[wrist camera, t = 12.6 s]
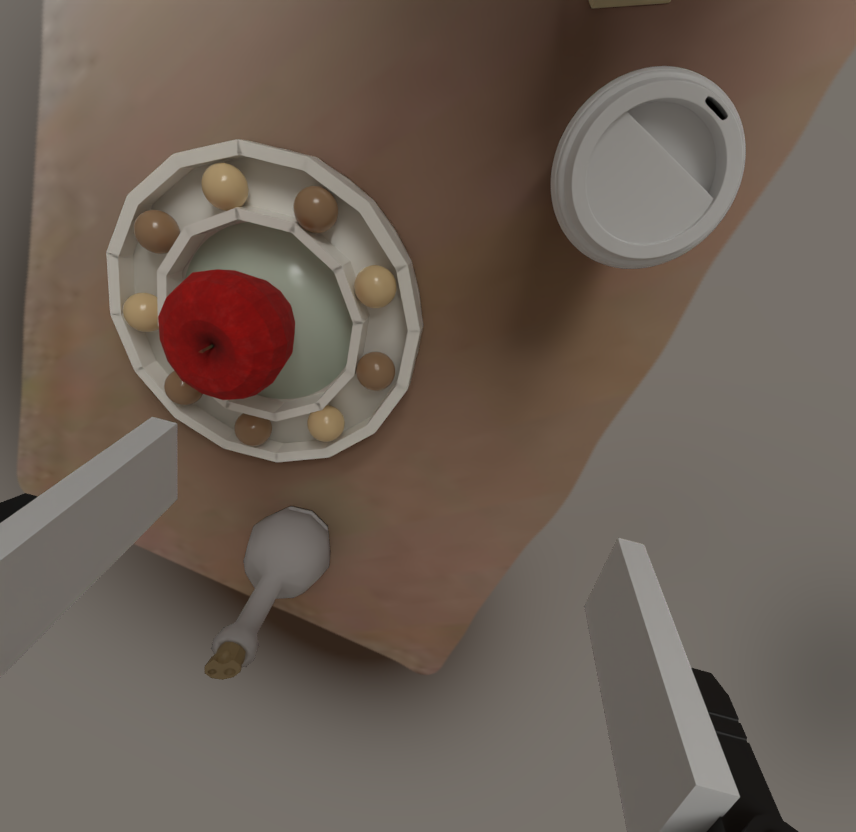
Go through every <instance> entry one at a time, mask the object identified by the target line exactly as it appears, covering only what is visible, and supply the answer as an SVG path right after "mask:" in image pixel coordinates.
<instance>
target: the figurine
mask: <svg viewBox="0 0 856 832" xmlns="http://www.w3.org/2000/svg"><path fill="white" fill-rule="evenodd" d="M588 1H589V4H590V6H591V8H607V7H621V6H635V5H649V4H663V3H670V1H671V0H588Z"/></svg>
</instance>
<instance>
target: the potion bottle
mask: <svg viewBox="0 0 856 832" xmlns="http://www.w3.org/2000/svg"><path fill="white" fill-rule="evenodd" d="M329 562H330V543H329V532H328V525H327V524H325V523H324V522H323V521H322V520H321V519H320V518H319V517H318V516H317V515H316V514H315V513H314V512H313V511H312V510H307V509H303V508H299V507H295V506H290V507H287V508H285V509H283V510H281V511H278V512H276V513H274V514H272V515H270V516H267V517H265V518H264V519H263V520H261V521H260V522H258V523H257V524H256V525H254V526H253V529H252V533H251V536H250V539H249V543H248V546H247V550H246V554H245V557H244V567H245V573H246V575H247V576H248V578H249V580H250V581H251V583H252V585H253V586H254V588H255V590H254V591H253V593H252V595H251V596H250V598H249V600H248V602H247V603H246V605H245V607H244V608H243V610H242V612H241V613H240V615H239V617H238V618H237V620H236V622H235V623H233V624H231V625H228V626H226V627H224V628H223V629H222V630H221V631H220V632H219V633H218V635H217V636H216V637H215V638H214V640H213V644H212V648H211V649H212V651H213V652H214V654H215V655H214V656H213V657H211V659H210V660H209V661H208V663H207V664H206V665H205V674H207V675H208V676H210V677H211V678H215V679H227V678H231V677H234V676H235V675H237V674H238V673H239V672H240V671H241V667H247V665H249V664H250V663H251V662H252V661H253V660H254V659H255V656H256V653H257V650H258V647H259V643H258V638H257V633H258V631H259V629H260V627H261V625H262V624H263V622H264V620H265V618H266V616H267V614H268V612H269V610H270V608H271V607H272V605H273V603H274V601H275V599H276V598H294V597H296V596H298V595H300V594H302V593H304V592H305V591H306V590H307V589H308V588H309V587H310V586H312V585H313V584H314V583H315V582H316V581H317V580H318V579H319V578H320V577H321V576H322V574H323V573H324V572H325V571H326V570H327V569H328V568H329Z"/></svg>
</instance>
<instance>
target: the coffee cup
mask: <svg viewBox="0 0 856 832" xmlns="http://www.w3.org/2000/svg"><path fill="white" fill-rule="evenodd" d="M745 155H746V146H745V136H744V130H743V126H742V123H741V120H740V117H739V114H738V112H737V110H736V108H735V106H734V105H733V103H732V101H731V100H730V99H729V97H728V96H727V95H726V94H725V93H724V91H723V90H722V89H721V88H720V87H718V86H717V85H716V84H715V83H713V82H712V81H711V80H709V79H707V78H706V77H704V76H702V75H700V74H698V73H696V72H694V71H691V70H688V69H684V68H679V67H672V66H656V67H648V68H643V69H639V70H636V71H632V72H630V73H627V74H625V75H622V76H620V77H618V78H616V79H614V80H613V81H611V82H609V83H608V84H606V85H605V86H603V87H602V88H601V89H599V90H598V91H597V92H595V93H594V94H593V95H592V96H591V97H590V98H589V99H588V100H587V101H586V102H585V103H584V104H583V105H582V106H581V107H580V108H579V110H578V111H577V112H576V113H575V115H574V116H573V118H572V119H571V121H570V122H569V124H568V125H567V127H566V129H565V131H564V133H563V135H562V137H561V139H560V141H559V144H558V147H557V149H556V153H555V156H554V160H553V165H552V171H551V198H552V204H553V208H554V212H555V215H556V218H557V220H558V223H559V225H560V227H561V229H562V231H563V232H564V234H565V235H566V237H567V238H568V239H569V241H570V242H571V243H572V244H573V245H574V246H575V247H576V248H577V249H578V250H579V251H580V252H582V253H583V254H584V255H586V256H587V257H589V258H591V259H592V260H594V261H596V262H599V263H601V264H604V265H607V266H611V267H616V268H623V269H639V268H647V267H652V266H656V265H659V264H662V263H665V262H668V261H670V260H673V259H675V258H677V257H679V256H681V255H683V254H685V253H686V252H688V251H689V250H691V249H692V248H694V247H695V246H697V245H698V244H699V243H700V242H702V241H703V240H704V239H705V238H706V237H707V236H708V235H709V234H710V233H711V232H712V231H713V230H714V229H715V228H716V227H717V225H718V224H719V223H720V222H721V220H722V219H723V218H724V216H725V215H726V213H727V212H728V210H729V208H730V206H731V205H732V203H733V201H734V199H735V196H736V194H737V192H738V189H739V186H740V183H741V180H742V176H743V172H744V166H745Z"/></svg>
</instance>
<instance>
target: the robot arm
mask: <svg viewBox="0 0 856 832" xmlns="http://www.w3.org/2000/svg"><path fill="white" fill-rule="evenodd" d="M176 500H177V423H174V422H170V421H166V420H162V419H159V418H155V417H151V418H150V419H148V420H147V421H145V422H144V423H143V424H141V425H140V426H138V427H137V428H135V429H134V430H133V431H131V432H130V433H128V434H127V435H125V436H124V437H123V438H121V439H120V440H118V441H117V442H115V443H114V444H113V445H111V446H110V447H108V448H107V449H105V450H104V451H103V452H101V453H100V454H98V455H97V456H95V457H94V458H93V459H91V460H90V461H88V462H87V463H85V464H84V465H83V466H81V467H80V468H78V469H77V470H75V471H74V472H73V473H71V474H70V475H68V476H67V477H65V478H64V479H63V480H61V481H60V482H58V483H57V484H55V485H54V486H53V487H51V488H50V489H48V490H47V491H45V492H44V493H43V494H41V495H40V496H34V495H30V494H26V493H25V494H22V495H20V496H17V497H15V498H12V499H9V500H6V501H4V502H1V503H0V678H1V676H2V675H4V673H5V672H7V671H8V669H10V668H11V667H12V665H13V664H14V663H15V662H16V661H17V660H18V659H19V658H20V657H21V656H22V655H23V654H24V653H25V652H26V651H27V650H28V649H29V648H30V647H31V646H32V645H33V644H34V643H35V642H36V641H37V640H38V639H39V638H40V637H41V636H42V635H43V634H44V633H45V632H46V631H47V630H48V629H49V628H50V627H51V626H52V625H53V624H54V623H55V622H56V621H57V620H58V619H59V618H60V617H61V616H62V615H63V614H64V613H65V612H66V611H67V610H68V609H69V608H70V607H71V606H72V605H73V604H74V603H75V602H76V601H77V600H78V599H79V598H80V597H81V596H82V595H83V594H84V593H85V592H86V591H87V590H88V589H89V588H90V587H91V586H92V585H93V584H94V583H95V582H96V581H97V580H98V579H99V578H100V576H102V575H103V574H104V573H105V572H106V571H107V570H108V569H109V568H110V567H111V566H112V565H113V564H114V563H115V562H116V561H117V559H119V558H120V556H122V554H124V552H125V551H126V550H127V549H128V548H129V547H130V546H131V545H132V544H133V543H134V542H135V541H136V540H137V539H138V538H139V537H140V536H141V535H142V534H143V533H144V532H145V531H146V530H147V529H148V528H149V527H150V526H151V525H152V524H153V523H154V522H155V521H156V520H157V519H158V518H159V517H160V516H161V515H162V514H163V513H164V512H165V511H166V510H167V509H168V508H169V507H170V506H171V505H172V504H173V503H174V502H175V501H176ZM584 607H585V612H586V618H587V623H588V628H589V634H590V639H591V644H592V649H593V654H594V660H595V665H596V670H597V676H598V681H599V686H600V692H601V697H602V702H603V707H604V713H605V718H606V723H607V729H608V734H609V739H610V744H611V750H612V755H613V760H614V766H615V771H616V776H617V781H618V787H619V791H620V797H621V803H622V808H623V813H624V818H625V824H626V828H627V832H798V831H797V830H795V829H794V828H793V827H791V826H790V825H789V824H787V823H786V822H784V821H783V819H782V817H781V816H780V813H779V811H778V809H777V806H776V804H775V802H774V800H773V797H772V795H771V792H770V790H769V788H768V785H767V783H766V781H765V779H764V776H763V774H762V772H761V770H760V767H759V765H758V762H757V760H756V758H755V755H754V753H753V751H752V748H751V746H750V744H749V743H747V741H746V739H747V737H746V735H745V732H744V730H743V728H742V725H741V723H738V716H737V714H736V711H735V709H734V707H733V705H732V702H731V700H730V698H729V695H728V694H727V693H726V692H725V691H724V689H723V688H722V687H721V685H720V684H719V683H718V681H717V680H716V679H715V677H714V676H713V675H712V674H711V673H709V672H705V671H701V670H698V669H694V668H691V666H690V664H689V661H688V658H687V656H686V654H685V651H684V648H683V646H682V643H681V640H680V638H679V635H678V632H677V630H676V627H675V625H674V622H673V619H672V616H671V614H670V611H669V609H668V606H667V603H666V601H665V598H664V595H663V593H662V590H661V588H660V585H659V582H658V580H657V577H656V574H655V572H654V569H653V567H652V564H651V561H650V559H649V556H648V554H647V551H646V548H645V546H644V544H640V543H636V542H633V541H629V540H625V539H621V538H618V539H617V540H616V542H615V544H614V547H613V549H612V551H611V553H610V555H609V557H608V559H607V561H606V563H605V565H604V567H603V569H602V571H601V573H600V575H599V577H598V579H597V581H596V583H595V585H594V588H593V589H592V591H591V593H590V596H589V598H588V600H587V602H586V604H585V606H584Z"/></svg>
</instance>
